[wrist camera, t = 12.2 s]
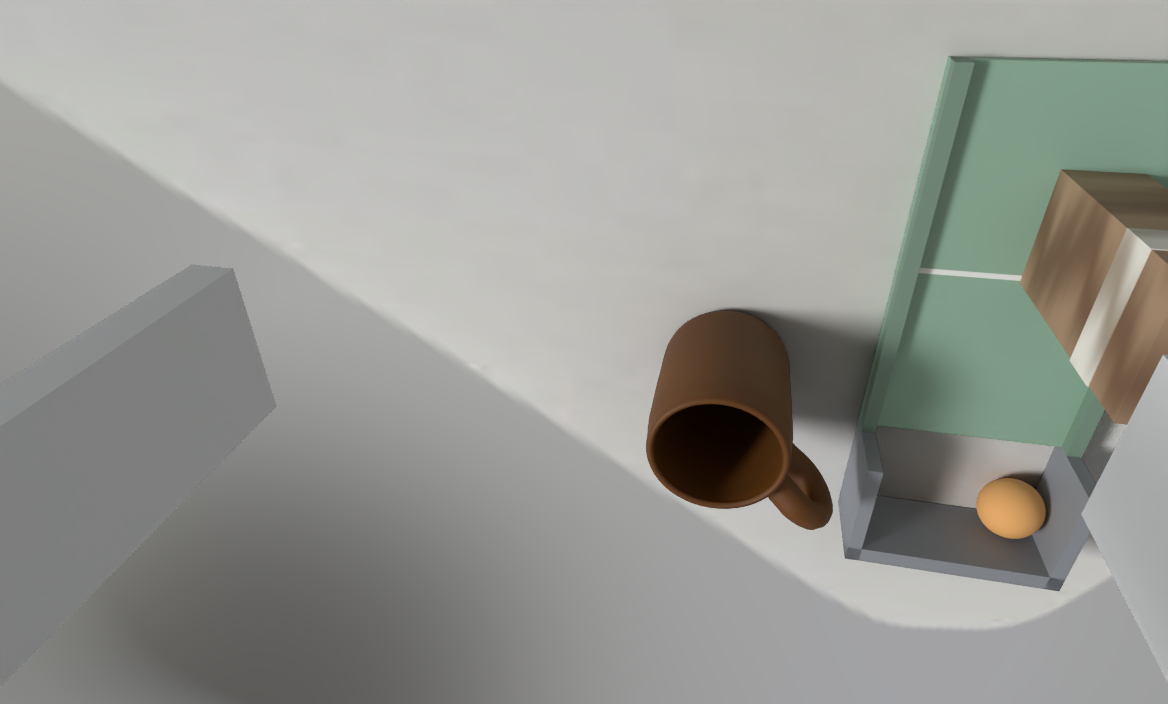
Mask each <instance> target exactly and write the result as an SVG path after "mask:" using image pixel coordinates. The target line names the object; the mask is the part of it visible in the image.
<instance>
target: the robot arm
mask: <svg viewBox="0 0 1168 704" xmlns="http://www.w3.org/2000/svg"><path fill="white" fill-rule="evenodd" d="M275 407H276V403H275V400H274V397H273V393H272V390H271V387H270V384H269V381H268V378H267V375H266V371H265V368H264V365H263V362H262V359H261V356H260V352H259V349H258V346H257V343H256V340H255V337H254V334H253V330H252V327H251V324H250V321H249V318H248V315H247V311H246V308H245V305H244V302H243V299H242V296H241V292H240V289H239V286H238V283H237V280H236V276H235V273H234V270H233V269H232V268H221V267H211V266H200V265H190V266H189V267H187V268H186V269H184V270H182V271H181V272H179V273H178V274H176V275H174V276H173V277H171V278H169V279H168V280H166V281H165V282H163V283H162V284H160V285H158V286H157V287H155V288H153V289H152V290H150V291H149V292H147V293H145V294H144V295H142V296H141V297H139V298H137V299H136V300H134V301H133V302H131V303H129V304H128V305H126V306H125V307H123V308H121V309H120V310H118V311H117V312H115V313H113V314H112V315H110V316H108V317H107V318H105V319H104V320H102V321H100V322H99V323H97V324H96V325H94V326H92V327H91V328H89V329H88V330H86V331H84V332H83V333H81V334H80V335H78V336H76V337H75V338H73V339H72V340H70V341H68V342H67V343H65V344H64V345H62V346H60V347H59V348H57V349H56V350H54V351H52V352H51V353H49V354H48V355H46V356H44V357H43V358H41V359H39V360H38V361H36V362H35V363H33V364H31V365H30V366H28V367H27V368H25V369H24V370H22V371H20V372H19V373H17V374H15V375H14V376H12V377H11V378H9V379H7V380H6V381H4V382H3V383H1V384H0V687H1V686H2V685H3V684H4V683H5V682H6V681H7V680H8V679H9V678H10V677H11V676H12V675H13V674H14V673H15V672H16V671H17V670H18V669H19V668H20V667H21V666H22V665H23V664H24V663H25V662H26V661H27V660H28V659H29V658H30V657H31V656H32V655H33V654H34V653H35V652H36V651H37V650H38V649H39V648H40V647H41V646H42V645H43V644H44V643H45V642H46V640H48V639H49V638H50V637H51V635H52V634H53V633H54V632H55V631H56V630H57V629H58V628H59V627H60V626H61V625H62V624H63V623H64V622H65V621H66V620H67V619H68V618H69V617H70V616H71V615H72V614H73V613H74V612H75V611H76V610H77V609H78V608H79V607H80V606H81V605H82V604H83V603H84V602H85V601H86V600H87V599H88V598H89V597H90V596H91V595H92V594H93V593H94V592H95V591H96V590H97V589H98V588H99V587H100V585H102V583H104V581H105V580H106V579H107V578H108V577H109V576H110V575H111V574H112V573H113V572H114V571H115V570H116V569H117V568H118V567H119V566H120V565H121V564H122V563H123V562H124V561H125V560H126V559H127V558H128V557H129V556H130V555H131V554H132V553H133V552H134V551H135V550H136V549H137V548H138V547H139V546H140V545H141V544H142V543H143V542H144V541H145V540H146V539H147V538H148V537H149V536H150V535H151V534H152V533H153V532H154V531H155V529H156V528H157V527H159V526H160V524H161V523H162V522H163V521H164V520H165V519H166V518H167V517H168V516H169V515H170V514H171V513H172V512H173V511H174V510H175V509H176V508H177V507H178V506H179V505H180V504H181V503H182V502H183V501H184V500H185V499H186V498H187V497H188V496H189V495H190V494H191V493H192V492H193V491H194V490H195V489H196V488H197V486H199V485H200V484H201V483H202V481H204V480H205V479H206V478H207V477H208V476H209V474H211V473H212V471H214V470H215V469H216V468H217V466H218V465H219V464H220V463H221V462H222V461H223V460H224V459H225V458H226V457H227V456H228V455H229V454H230V453H231V452H232V451H233V450H234V449H235V448H236V447H237V446H238V445H239V444H240V443H241V442H242V441H243V440H244V439H245V438H246V437H247V436H248V435H249V434H250V433H251V432H252V431H253V430H254V429H255V428H256V427H257V426H258V425H259V424H260V423H261V422H262V421H263V420H264V418H266V417H267V416H268V415H269V413H271V411H272V410H273V409H274V408H275ZM1081 515H1082V517H1083V519H1084V521H1085V523H1086V525H1087V527H1088V528H1089V530H1090V532H1091V534H1092V536H1093V538H1094V540H1095V542H1096V544H1097V546H1098V548H1099V550H1100V552H1101V554H1102V556H1103V558H1104V560H1105V562H1106V564H1107V566H1108V568H1109V570H1110V571H1111V573H1112V575H1113V577H1114V579H1115V581H1116V583H1117V585H1118V587H1119V589H1120V591H1121V593H1122V595H1123V597H1124V599H1125V601H1126V603H1127V605H1128V607H1129V608H1130V611H1131V612H1132V614H1133V616H1134V618H1135V620H1136V622H1137V624H1138V626H1139V628H1140V630H1141V632H1142V634H1143V636H1144V638H1145V640H1146V642H1147V644H1148V646H1149V648H1150V650H1151V651H1152V653H1153V655H1154V657H1155V659H1156V661H1157V663H1158V665H1159V667H1160V669H1161V671H1162V673H1163V675H1164V677H1165V679H1166V681H1167V683H1168V355H1163V356H1162V358H1161V360H1160V361H1159V363H1158V365H1157V367H1156V369H1155V371H1154V373H1153V375H1152V377H1151V379H1150V381H1149V383H1148V385H1147V387H1146V389H1145V391H1144V393H1143V395H1142V397H1141V399H1140V400H1139V402H1138V404H1137V406H1136V408H1135V410H1134V412H1133V414H1132V416H1131V418H1130V420H1129V422H1128V424H1127V426H1126V428H1125V430H1124V432H1123V434H1122V436H1121V438H1120V439H1119V441H1118V443H1117V445H1116V447H1115V449H1114V451H1113V453H1112V455H1111V457H1110V459H1109V461H1108V463H1107V465H1106V467H1105V469H1104V471H1103V473H1102V475H1101V477H1100V478H1099V480H1098V482H1097V484H1096V486H1095V488H1094V490H1093V492H1092V494H1091V496H1090V498H1089V500H1088V502H1087V504H1086V506H1085V508H1084V510H1083V512H1082V514H1081Z"/></svg>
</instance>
